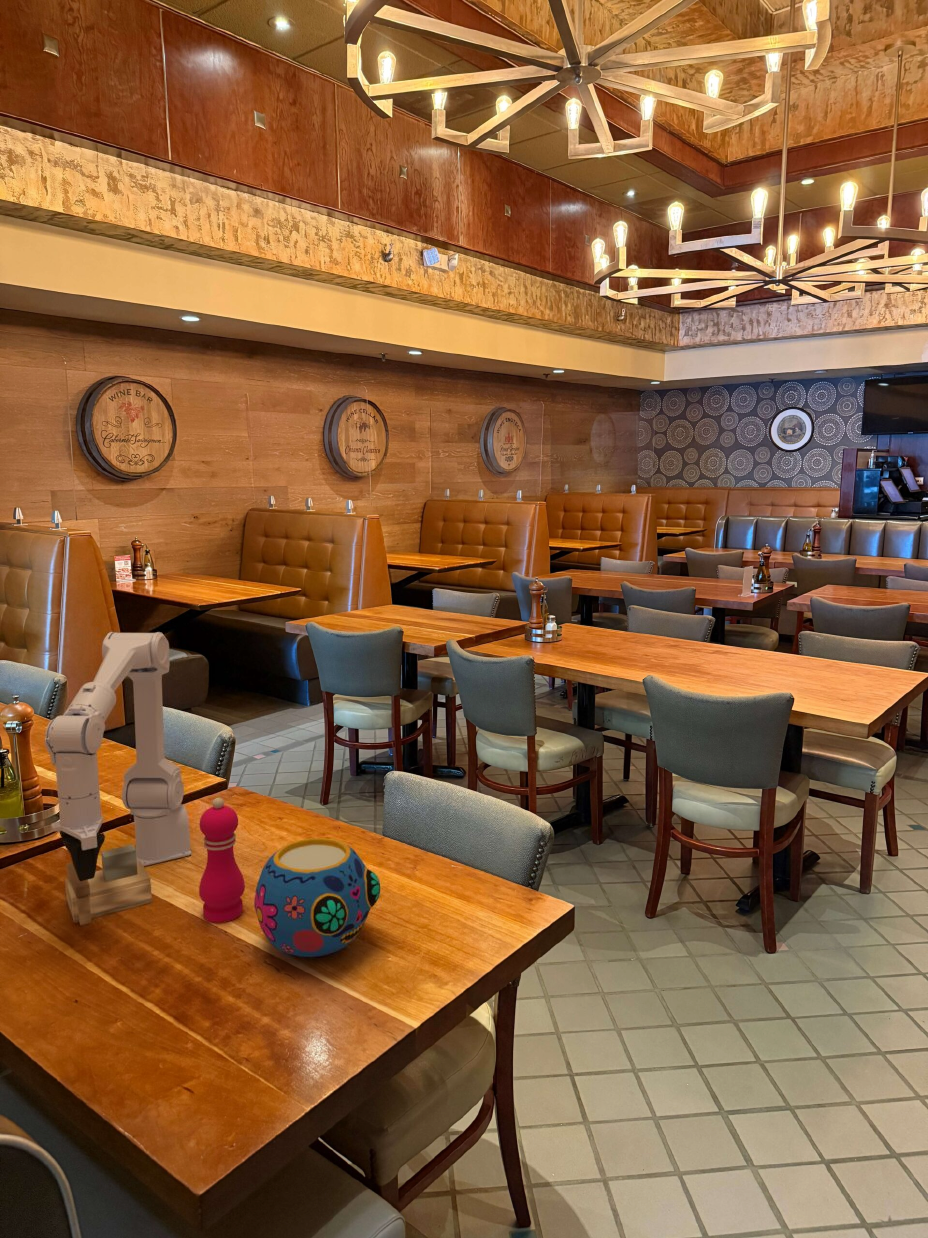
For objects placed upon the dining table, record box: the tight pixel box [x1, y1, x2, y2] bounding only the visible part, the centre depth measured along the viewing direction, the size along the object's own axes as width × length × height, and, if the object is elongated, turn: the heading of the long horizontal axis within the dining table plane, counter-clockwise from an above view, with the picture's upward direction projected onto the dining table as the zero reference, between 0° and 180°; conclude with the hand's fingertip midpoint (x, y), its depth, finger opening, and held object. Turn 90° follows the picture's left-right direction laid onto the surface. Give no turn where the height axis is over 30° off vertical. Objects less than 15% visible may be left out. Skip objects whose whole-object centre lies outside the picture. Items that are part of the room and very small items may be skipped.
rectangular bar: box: [65, 861, 90, 898], centre depth 133 cm, size 2×10×2 cm, turn 34°
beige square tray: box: [64, 883, 153, 926], centre depth 136 cm, size 12×11×4 cm
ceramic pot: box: [253, 837, 381, 958], centre depth 123 cm, size 18×18×15 cm
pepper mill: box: [198, 797, 246, 924], centre depth 132 cm, size 7×7×20 cm
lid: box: [64, 844, 152, 902], centre depth 136 cm, size 12×8×5 cm, turn 124°
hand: (85, 875), depth 125 cm, fingers closed
